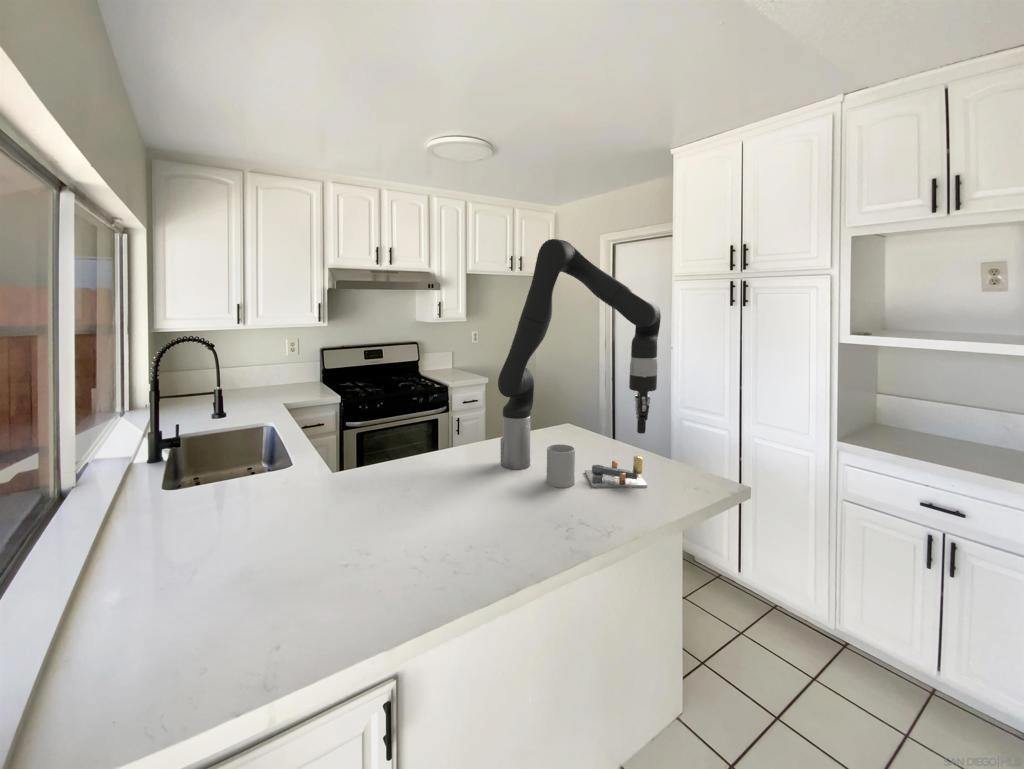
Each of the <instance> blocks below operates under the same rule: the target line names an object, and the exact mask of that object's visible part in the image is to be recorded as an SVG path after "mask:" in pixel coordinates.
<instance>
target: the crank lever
mask: <svg viewBox="0 0 1024 769" xmlns="http://www.w3.org/2000/svg"><path fill="white" fill-rule="evenodd" d="M643 458H644V457H643V456H640V455H634V456H633V460H632V461H633V464H632V468H633V469H623V468H618V467H617V468H612V467H609V466H604V465H603V464H602V465H601V464H593V465H592V466H591V470H592V473H593V474H598V475H600V474H604V475H611V476H617V477H620V472H624V473H626V478H630V479H637V478H638V474H639V475H642V474H643ZM631 470H633V471H631Z"/></svg>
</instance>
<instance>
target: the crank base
mask: <svg viewBox="0 0 1024 769" xmlns="http://www.w3.org/2000/svg"><path fill="white" fill-rule="evenodd" d="M611 468H617V469H618V461H617V460H612V461H611ZM630 470H631V471H633V469H630ZM584 474H585V477H586V478H587V480H588V482H589V485H590V486H591V488H592V489H596V488H597V489H598V488H599V489H602V488H605V489H607V488H616V489H617V488H618V489H619V488H648V484H647V483H646V481H645V480H644V479H643V478H642V476H641V474H638V478H637V479H630V478H626V473H624V472H620V477H617V476H611V475H604V474H600V475H598V474H593V473H592V469H585V470H584Z"/></svg>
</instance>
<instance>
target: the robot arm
mask: <svg viewBox="0 0 1024 769" xmlns="http://www.w3.org/2000/svg"><path fill="white" fill-rule="evenodd" d="M560 273H564V274H566V275H569V276H570V277H573V278H574V279H576V280H578V282H579V281H580V282H581V284H583V285H584V286H585V287H586V288H587V289H588V290H589V291H590V292H591V293H592V294H593V295H594V296H596V298H598V299H599V300H600V301H601V302H603V303H604V304H606V305H608V306H609V307H611V308H612V309H614V310H616V311H617V312H618V313H619V315H621V316H623V318H625V319H626V320H627V321H628V322H630V323H631V324H632V325H634V326H635V332H634V336H633V338H632V341H631V346H630V348H631V349H630V363H629V381H628V382H629V385H628V388H629V390H631V391H634V392H637V395H636V394H635V395H634V401H635V405H634V406H635V415H636V421H637V422H636V423H637V425H636V427H637V428H636V431H637V433H638V434H645V433H646V425H647V424H646V423H647V422H646V421H648V419H649V418H648V417H649V416H648V415H649V412H650V411H649V410H650V404H651V397H650V395H649V394H648V393H649V392H654V391H656V390H657V387H658V358H657V357H658V337H659V333H660V327H661V318H662V315H661V309H660V307H659V306H658V304H656V303H654V302H653V301H647V300H645V299H643V298H641V297H640V296H639V295H637V294H635V293H634V292H633V290H632V289H630V288H629V286H627V285H625V284H624V283H623V282H621V281H619V280H618V279H617V278H615V277H613V276H612V275H610V274H608V273H607V272H605V271H604V270H602V269H600V268H599V267H598V266H596V265H595V264H594V263H592V262H591V261H590V260H588V259H587V258H586V257H585V256H584V255H583V254H581V252H580V251H578V249H577V248H576V247H574V245H572V244H571V243H570V242H569V241H566V240H563V239H558V238H557V239H556V238H551V239H548V240H546V241H545V242H543V243H542V244H541V246H540V247H539V250H538V253H537V256H536V262H535V266H534V271H533V276H532V280H531V284H530V287H529V290H528V293H527V296H526V298H525V299H526V300H525V302H524V306H523V309H522V311H521V314H520V318H519V320H518V324H517V328H516V331H515V333H514V337H513V340H512V342H511V346H510V349H509V352H508V354H507V357H506V359H505V361H504V364H503V366H502V368H501V370H500V373H499V375H498V379H497V387H498V390H499V393H500V394H501V395H502V396H504V397H506V398H509V399H508V402H506V404H505V405H504V406H503V408H502V437H501V438H500V466H501V467H504V468H505V469H508V470H524V469H528V468H529V467H531V411H532V409H533V406H534V396H535V395H534V390H535V389H534V388H535V381H534V376H533V374H532V372H531V370H530V369H529V368H527V366H528V363H529V360H530V359H531V357H532V356H533V354H534V353H535V351H536V350H537V349H538V348H539V346H540V345H541V343H543V340H544V339H545V337H546V335H547V332H548V329H549V325H550V323H551V321H552V317H553V316H552V315H553V293H554V288H555V285H556V283H557V279H558V277H559V275H560Z"/></svg>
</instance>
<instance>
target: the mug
mask: <svg viewBox="0 0 1024 769" xmlns="http://www.w3.org/2000/svg"><path fill="white" fill-rule="evenodd" d="M575 461H576V449H575V447H574V446H572V445H569V444H560V443H559V444H552V445H548V446H547V448H546V484H547V485H549V486H550V487H552V488H557V489H567V488H570V487H573V486H574V485H575V472H576V471H575V470H576V469H575V468H576V462H575Z"/></svg>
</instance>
